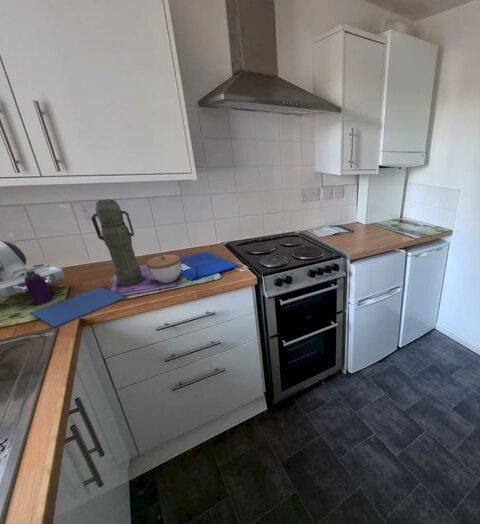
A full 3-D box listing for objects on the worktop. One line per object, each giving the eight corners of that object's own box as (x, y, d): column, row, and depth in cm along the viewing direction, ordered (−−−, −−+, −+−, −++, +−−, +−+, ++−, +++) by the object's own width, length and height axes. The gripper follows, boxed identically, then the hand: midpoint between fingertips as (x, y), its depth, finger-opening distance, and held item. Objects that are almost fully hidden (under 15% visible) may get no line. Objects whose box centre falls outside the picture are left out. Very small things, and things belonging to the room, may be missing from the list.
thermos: (114, 281, 129) (86, 200, 116) (146, 274, 136) (123, 197, 122) (114, 289, 123) (84, 204, 109) (147, 281, 129) (124, 200, 115)
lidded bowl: (176, 285, 126) (170, 261, 122) (145, 286, 125) (138, 262, 121) (189, 272, 138) (184, 250, 133) (160, 273, 137) (154, 250, 133)
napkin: (54, 327, 99) (53, 326, 98) (30, 313, 106) (30, 312, 106) (125, 297, 116) (125, 297, 116) (101, 287, 124) (100, 286, 124)
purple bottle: (37, 305, 111) (23, 275, 106) (31, 302, 113) (17, 272, 108) (55, 299, 115) (42, 270, 110) (49, 296, 117) (35, 267, 112)
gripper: (-22, 281, 107) (-7, 290, 101) (51, 262, 124) (67, 268, 118) (-13, 297, 110) (2, 306, 104) (57, 275, 126) (73, 282, 120)
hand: (37, 286), depth 111 cm, fingers closed on purple bottle, 5 cm apart
